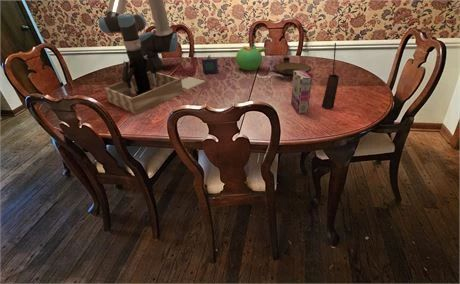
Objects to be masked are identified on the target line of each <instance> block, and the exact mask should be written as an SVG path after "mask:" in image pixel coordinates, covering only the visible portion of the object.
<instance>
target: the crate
mask: <svg viewBox="0 0 460 284" xmlns="http://www.w3.org/2000/svg"><path fill="white" fill-rule="evenodd" d="M150 73H152V72H150V71H148V72H147V75H148V79H149V83H150V87H152V86H154V85H153V84H152V79H151V75H150ZM155 74H156V79H155V80H156V84H157V85H156V86H157V87H156V88H153V90H150V91H148V92H145V93H143V94H141V95H138V96H136V95H135V96H134V97H133V96H132V97H131V96H129V95H132V93H131V90H130V88H128V85H127V82H123V81H122V80H121V81H120V82H116V83H114V84H111V85H108V86H105V87H103V89H104V92H105V95H106V97H107V100H108V102H109V103H111V104H113V105H114V106H117V107H119V108H121V109H123V110H125V111H128V112H130V113H132V114H134V115H138V114H141V113H142V112H145V111H147V110H149V109H151V108H153V107H155V106H157V105H159V104H161V103H164V102H167V101H169V100H171V99H172V98H173V99H174V98H175V97H177V96H179V95H182V94H183V93H184V89H183V88H182V82H181V80H182V78H179V77H176V76H171V75H168V74H164V73H163V72H162V73H161V72H158V71H156V73H155ZM131 82H132V83H133V87H134V90H135V93H136V92H138V89H137V85H136V81H135V78H134V76H132V79H131Z"/></svg>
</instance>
